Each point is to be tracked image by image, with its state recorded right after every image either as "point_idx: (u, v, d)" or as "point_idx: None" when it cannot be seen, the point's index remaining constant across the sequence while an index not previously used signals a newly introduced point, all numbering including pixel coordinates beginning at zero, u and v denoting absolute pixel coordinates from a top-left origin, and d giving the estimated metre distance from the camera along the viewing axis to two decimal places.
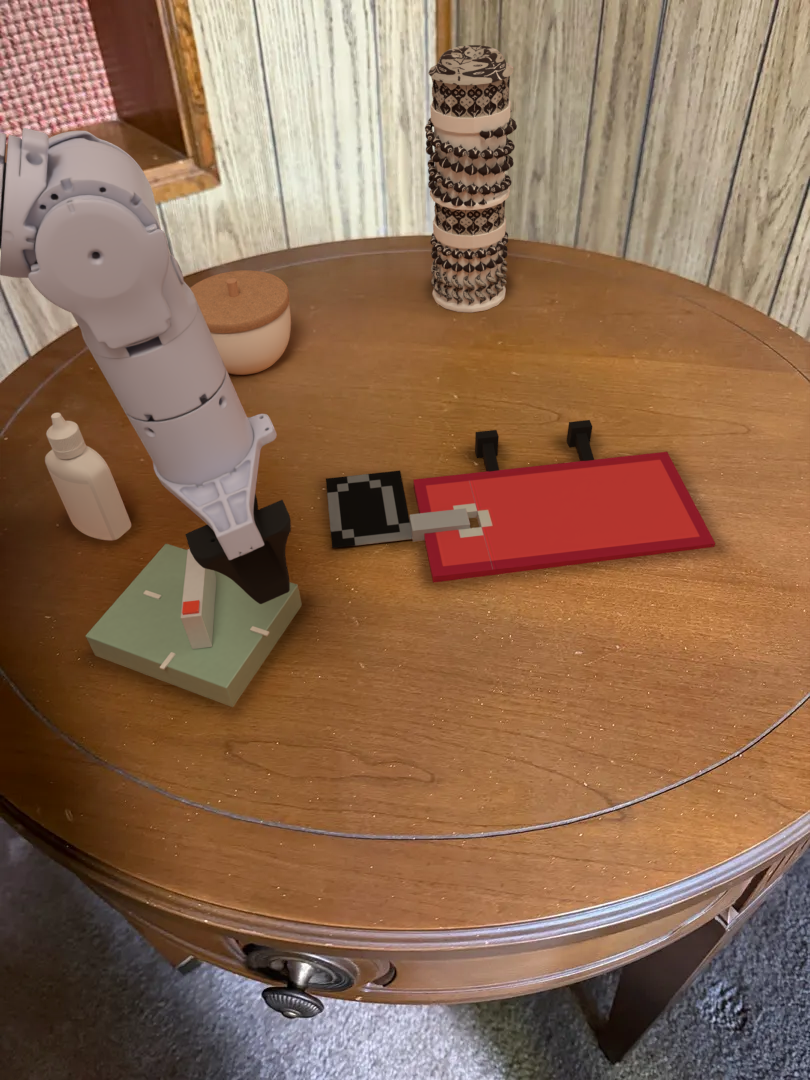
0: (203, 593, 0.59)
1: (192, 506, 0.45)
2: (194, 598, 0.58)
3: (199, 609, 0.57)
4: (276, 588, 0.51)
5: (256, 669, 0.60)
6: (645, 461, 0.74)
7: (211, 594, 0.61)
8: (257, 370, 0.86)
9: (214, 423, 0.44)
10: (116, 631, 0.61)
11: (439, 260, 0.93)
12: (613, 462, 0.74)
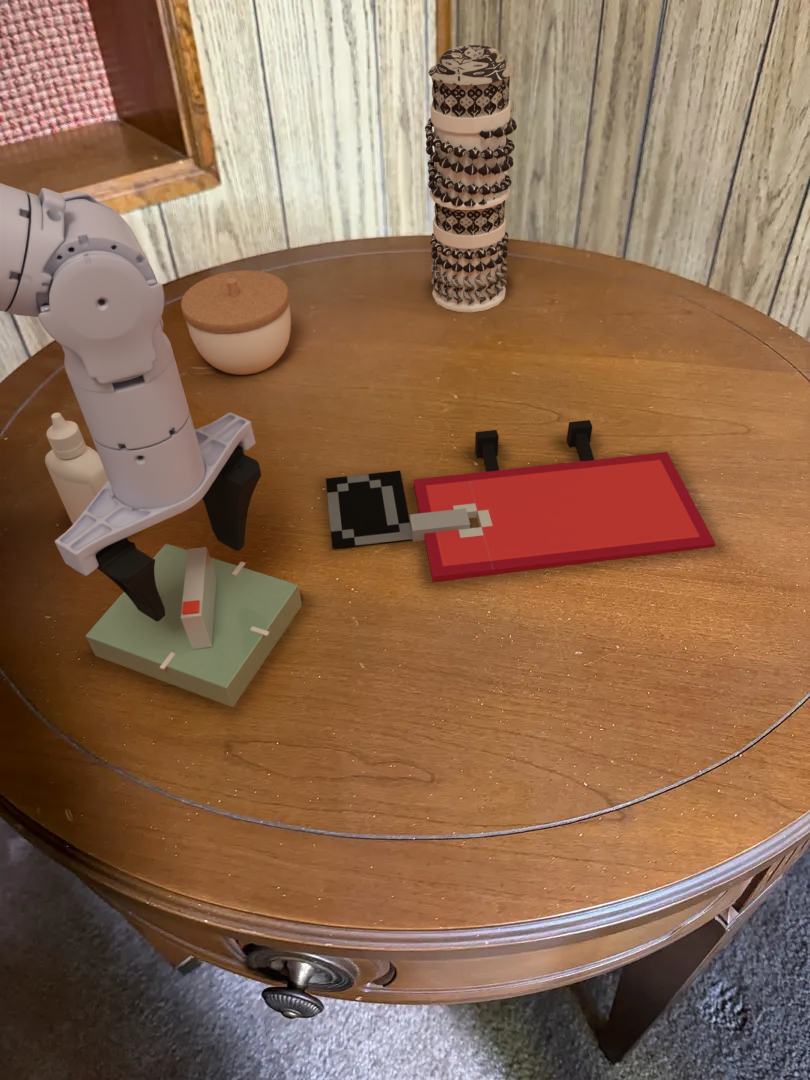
0: (203, 593, 0.59)
1: (226, 449, 0.54)
2: (194, 598, 0.58)
3: (199, 609, 0.57)
4: None
5: (256, 669, 0.60)
6: (645, 461, 0.74)
7: (211, 594, 0.61)
8: (257, 370, 0.86)
9: None
10: (116, 631, 0.61)
11: (439, 260, 0.93)
12: (613, 462, 0.74)
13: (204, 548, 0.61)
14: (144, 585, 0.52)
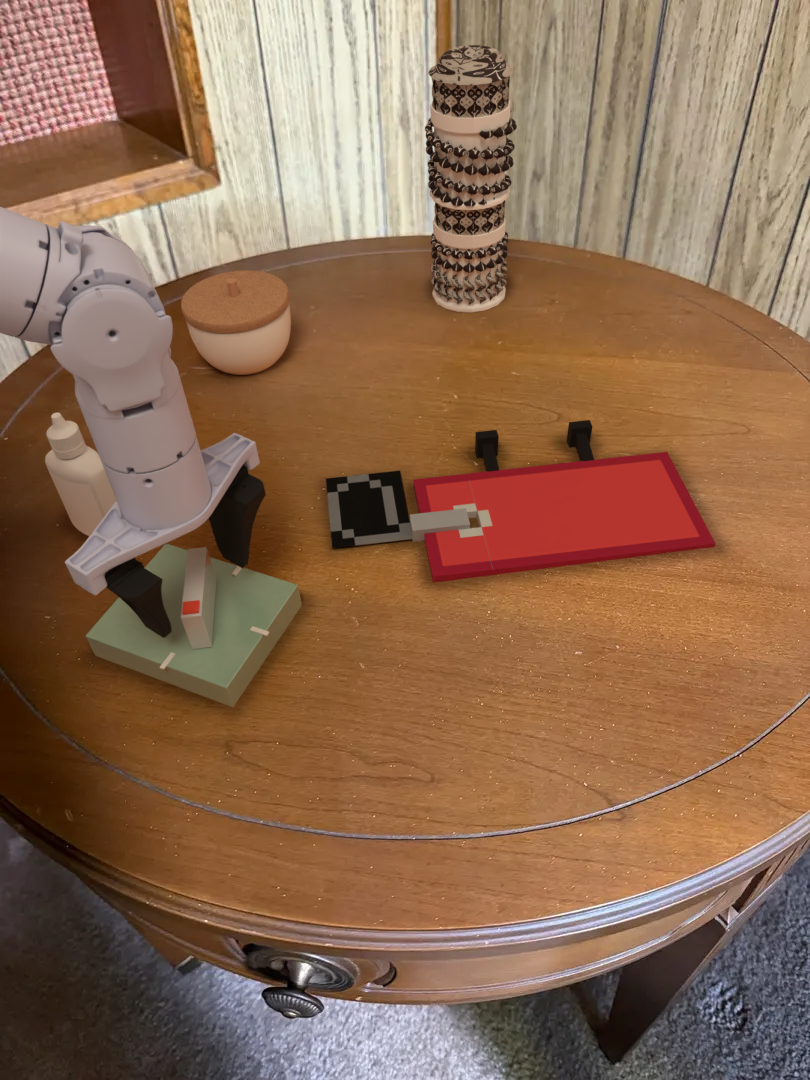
0: (203, 593, 0.59)
1: (232, 470, 0.55)
2: (194, 598, 0.58)
3: (199, 609, 0.57)
4: None
5: (256, 669, 0.60)
6: (645, 461, 0.74)
7: (211, 594, 0.61)
8: (257, 370, 0.86)
9: None
10: (116, 631, 0.61)
11: (439, 260, 0.93)
12: (613, 462, 0.74)
13: (204, 548, 0.61)
14: (151, 603, 0.54)
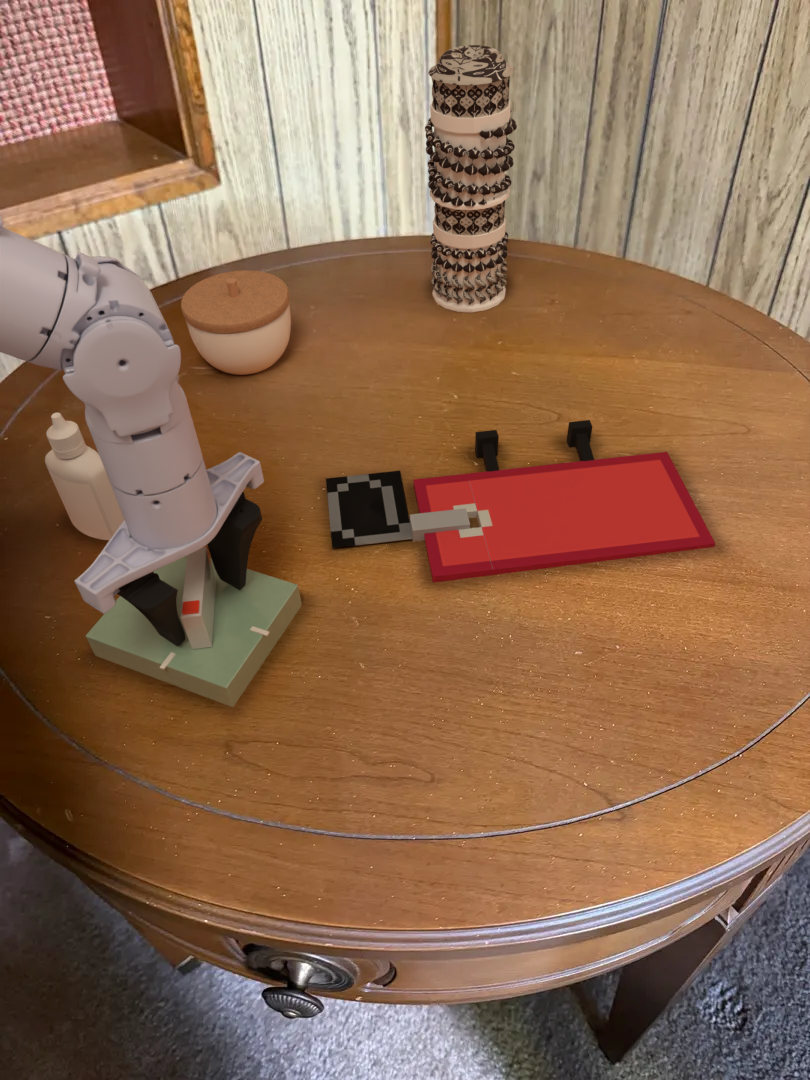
0: (203, 593, 0.59)
1: (237, 489, 0.56)
2: (194, 598, 0.58)
3: (199, 609, 0.57)
4: None
5: (256, 669, 0.60)
6: (645, 461, 0.74)
7: (211, 594, 0.61)
8: (257, 370, 0.86)
9: None
10: (116, 631, 0.61)
11: (439, 260, 0.93)
12: (613, 462, 0.74)
13: (204, 548, 0.61)
14: (167, 613, 0.55)
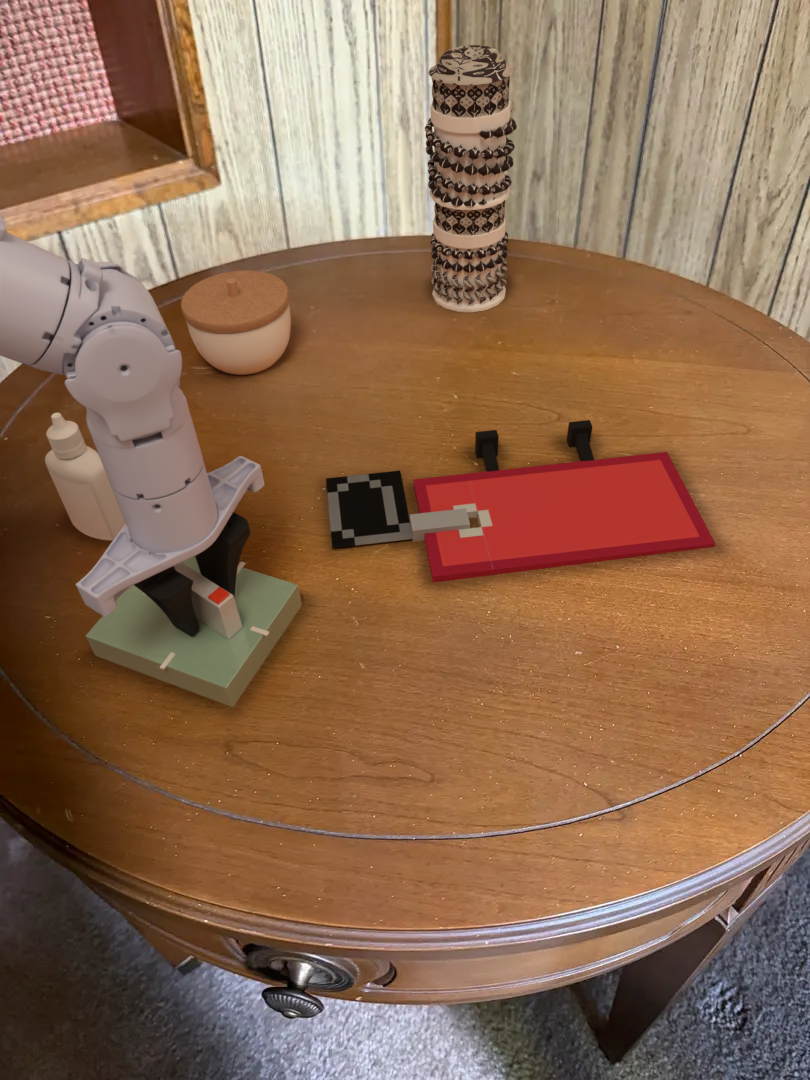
0: None
1: (237, 493, 0.57)
2: (211, 589, 0.58)
3: (226, 593, 0.58)
4: None
5: (256, 669, 0.60)
6: (645, 461, 0.74)
7: None
8: (257, 370, 0.86)
9: None
10: (116, 631, 0.61)
11: (439, 260, 0.93)
12: (613, 462, 0.74)
13: None
14: (182, 604, 0.56)
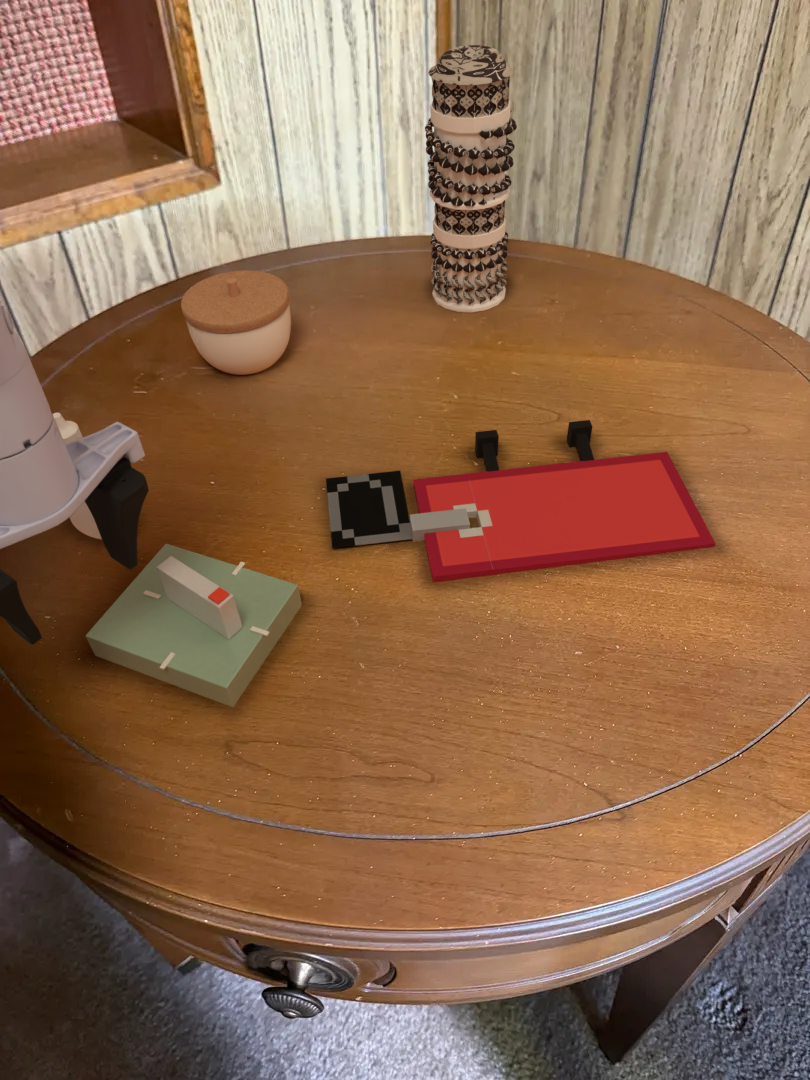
0: None
1: (105, 462, 0.50)
2: (211, 589, 0.58)
3: (226, 593, 0.58)
4: None
5: (256, 669, 0.60)
6: (645, 461, 0.74)
7: None
8: (257, 370, 0.86)
9: None
10: (116, 631, 0.61)
11: (439, 260, 0.93)
12: (613, 462, 0.74)
13: (170, 557, 0.61)
14: (8, 607, 0.48)
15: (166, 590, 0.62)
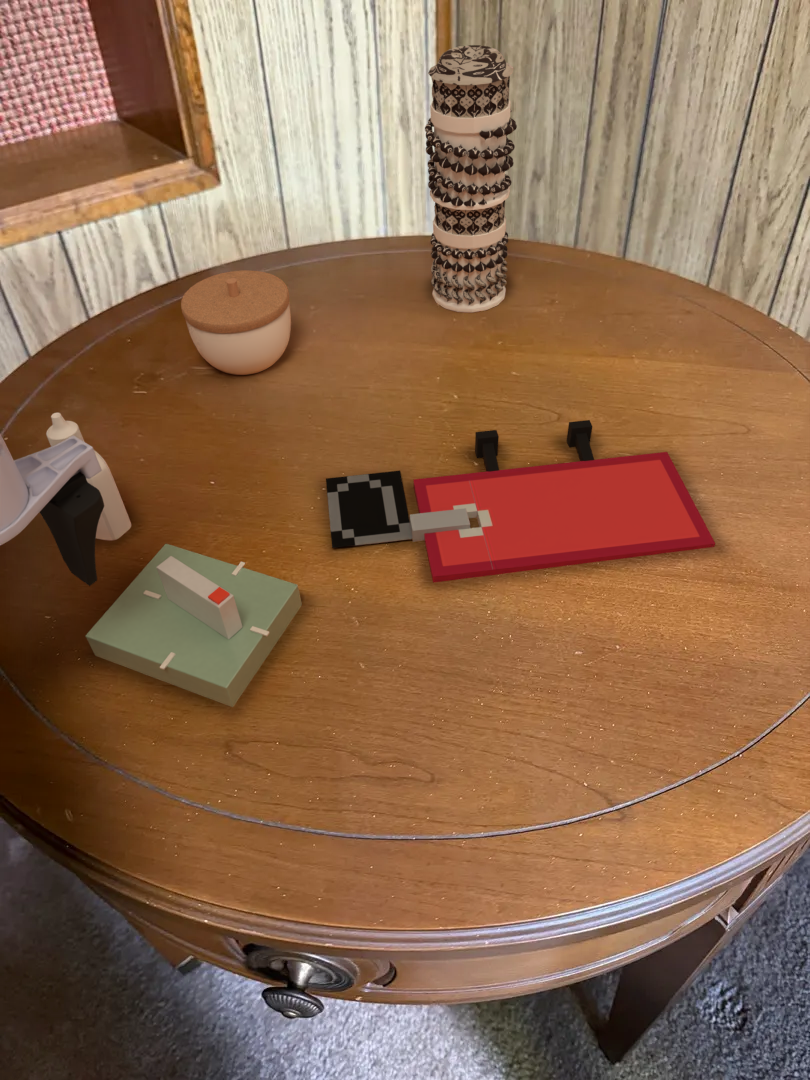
0: None
1: (57, 478, 0.49)
2: (211, 589, 0.58)
3: (226, 593, 0.58)
4: None
5: (256, 669, 0.60)
6: (645, 461, 0.74)
7: None
8: (257, 370, 0.86)
9: None
10: (116, 631, 0.61)
11: (439, 260, 0.93)
12: (613, 462, 0.74)
13: (170, 557, 0.61)
14: None
15: (166, 590, 0.62)
